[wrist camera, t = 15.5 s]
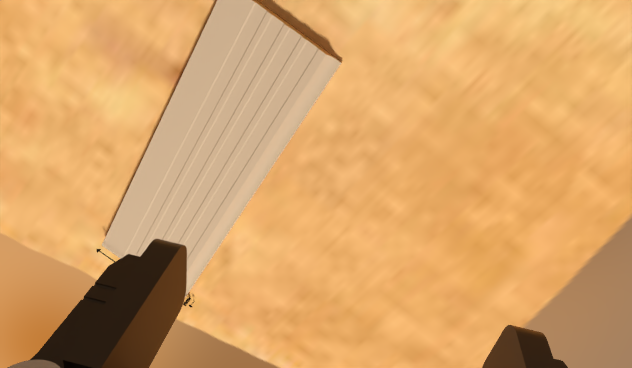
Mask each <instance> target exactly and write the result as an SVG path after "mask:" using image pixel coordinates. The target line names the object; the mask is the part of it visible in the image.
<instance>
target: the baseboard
mask: <svg viewBox="0 0 632 368" xmlns="http://www.w3.org/2000/svg"><path fill="white" fill-rule="evenodd" d="M341 63H342V62H341V61H339V60H338V59H337V58H335V57H334V56H333V55H331V54H330V53H329V52H327V51H326V50H324V49H323V48H322V47H320V46H319V45H318V44H316V43H315V42H313V41H312V40H311V39H309V38H308V37H307V36H305V35H304V34H302V33H301V32H300V31H298V30H297V29H296V28H294V27H293V26H291V25H290V24H289V23H287V22H286V21H285V20H283V19H282V18H280V17H279V16H278V15H276V14H275V13H274V12H272V11H271V10H269V9H268V8H267V7H265V6H264V5H263V4H261V3H260V2H259V1H257V0H217V2H216V4H215V6H214V8H213V11H212V13H211V15H210V17H209V19H208V21H207V23H206V25H205V28H204V30H203V32H202V34H201V36H200V38H199V40H198V42H197V44H196V47H195V49H194V51H193V53H192V55H191V57H190V59H189V61H188V64H187V66H186V68H185V70H184V72H183V74H182V76H181V78H180V80H179V83H178V85H177V87H176V89H175V91H174V93H173V95H172V97H171V100H170V102H169V104H168V106H167V108H166V110H165V112H164V114H163V117H162V119H161V121H160V123H159V125H158V127H157V129H156V131H155V133H154V136H153V138H152V140H151V142H150V144H149V146H148V148H147V150H146V153H145V155H144V157H143V159H142V161H141V163H140V165H139V167H138V170H137V172H136V174H135V176H134V178H133V180H132V182H131V184H130V186H129V189H128V191H127V193H126V195H125V197H124V199H123V201H122V203H121V206H120V208H119V210H118V212H117V214H116V216H115V218H114V220H113V222H112V225H111V227H110V229H109V231H108V233H107V235H106V237H105V239H104V242H103V244H102V246H103V247H105V248H106V249H108V250H109V251H111V252H112V253H113V254H115V255H116V256H118V257H119V258H123V257H124V256H126V255H128V254H131V255H135V256H141V255H142V254H143V252H144V251H145V250H146V248H147V247H148V246H149V244H150V243H151V242H152V241H153V240H154V239H161V240H165V241H169V242H173V243H177V244H182V245H185V246H186V248H187V284H186V294H185V297H186V296H187V294H188V293H189V291H190V290H191V288H192V287H193V285H194V284H195V282H196V281H197V279H198V278H199V276H200V275H201V273H202V272H203V270H204V269H205V267H206V266H207V264H208V263H209V261H210V260H211V258H212V257H213V255H214V254H215V252H216V251H217V249H218V248H219V246H220V245H221V243H222V242H223V240H224V239H225V237H226V236H227V234H228V233H229V231H230V230H231V228H232V227H233V225H234V224H235V222H236V221H237V219H238V218H239V216H240V215H241V213H242V212H243V210H244V209H245V207H246V206H247V204H248V203H249V201H250V200H251V198H252V197H253V195H254V194H255V192H256V191H257V189H258V188H259V186H260V185H261V183H262V182H263V180H264V179H265V177H266V176H267V174H268V173H269V171H270V170H271V168H272V167H273V165H274V164H275V162H276V161H277V159H278V158H279V156H280V155H281V153H282V152H283V150H284V149H285V147H286V146H287V144H288V143H289V141H290V140H291V138H292V137H293V135H294V134H295V132H296V131H297V129H298V128H299V126H300V125H301V123H302V122H303V120H304V119H305V117H306V116H307V114H308V113H309V111H310V110H311V108H312V107H313V105H314V104H315V102H316V101H317V99H318V98H319V96H320V95H321V93H322V92H323V90H324V89H325V87H326V86H327V84H328V83H329V81H330V80H331V78H332V77H333V75H334V74H335V72H336V71H337V69H338V68H339V66H340V65H341ZM100 250H101V249H97V252H101V251H100ZM101 253H102V252H101ZM102 254H103V253H102ZM104 255H105V254H104ZM105 256H106V255H105ZM107 257H108V256H107ZM108 258H109V257H108ZM109 259H111V258H109ZM111 260H112V259H111ZM112 261H113V260H112ZM114 262H115V261H114ZM190 299H191V298H189V299H187V300H186V301H185V302H184V303H183V305H185V304H186V303H187V302H188V301H189V300H190ZM192 304H193V303H192ZM192 304H191V305H192ZM186 305H187V304H186ZM186 305H185V306H186ZM191 305H189V306H190V307H192V306H191Z"/></svg>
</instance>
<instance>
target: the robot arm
mask: <svg viewBox="0 0 632 368" xmlns="http://www.w3.org/2000/svg"><path fill="white" fill-rule="evenodd" d="M186 284H187V248H186V246H185V245H182V244H177V243H173V242H169V241H165V240H161V239H154V240H153V241H152V242H151V243H150V244H149V246H148V247H147V248H146V250H145V251H144V252H143V254H142V255H141V256H135V255H131V254H128V255H126V256H124V257H123V258H121V259H119V260H118V261H116V262H115V263H113V264H111V265H110V266H108V268H107V269H106V270H105V271H104V273H103V274H102V275H101V276H100V277H99V279H98V280H97V281H96V282H95V285H94V286H92V287H91V288H90V290H89V291H88V292H87V293H86V295H85V296H84V299H83V300H81V301H80V302H79V303H78V304H77V306H76V307H75V308H74V309H73V310H72V312H71V313H70V314H69V315H68V316H67V318H66V319H65V320H64V321H63V323H62V324H61V325H60V326H59V327H58V329H57V330H56V331H55V332H54V333H53V335H52V336H51V337H50V339H48V341H47V342H46V343H45V344H44V346H43V347H42V348H41V349H40V351H39V352H38V353H37V354H36V355H35V356H34V357H33V358H32V359H30V360H28V361H24V362H20V363H17V364H15V365H12V366H10V367H8V368H149V366H150V365H151V363H152V361H153V359H154V357H155V355H156V354H157V352H158V350H159V348H160V346H161V345H162V343H163V341H164V339H165V337H166V336H167V334H168V332H169V330H170V328H171V326H172V325H173V323H174V321H175V319H176V318H177V316H178V314H179V312H180V310H181V307H182V305H183V302H184V299H185V294H186ZM482 368H568V367H567V366H566V365H565V363H564V362H563V361H561V360H556V359H553V356H552V353H551V350H550V347H549V344H548V341H547V339H546V337H545V335H544V334H543V333H541V332H537V331H533V330H529V329H525V328H520V327H516V326H512V325H508V326H507V327H506V328H505V329H504V330H503V332H502V334H501V335H500V337H499V339H498V340H497V342H496V344H495V345H494V347H493V349H492V350H491V352H490V354H489V355H488V357H487V359H486V360H485V362H484V364H483V367H482Z"/></svg>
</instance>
